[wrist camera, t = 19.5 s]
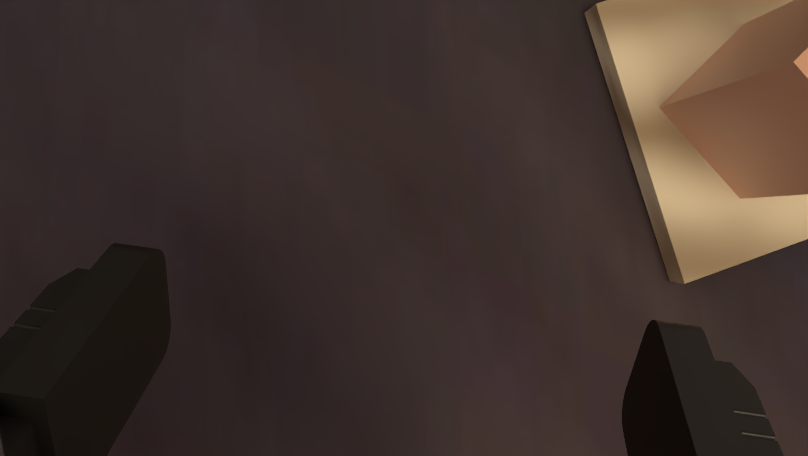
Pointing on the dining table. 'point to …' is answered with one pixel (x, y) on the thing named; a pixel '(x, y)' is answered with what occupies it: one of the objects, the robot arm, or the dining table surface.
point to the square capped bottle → (752, 106)
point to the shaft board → (669, 149)
